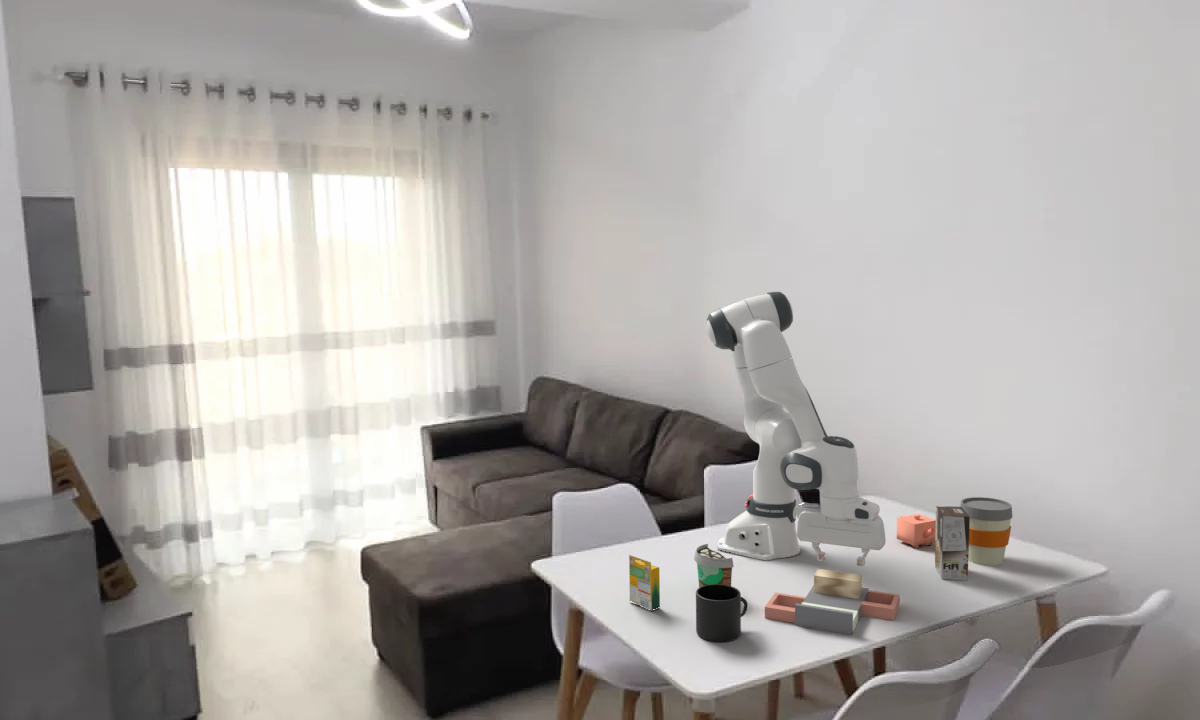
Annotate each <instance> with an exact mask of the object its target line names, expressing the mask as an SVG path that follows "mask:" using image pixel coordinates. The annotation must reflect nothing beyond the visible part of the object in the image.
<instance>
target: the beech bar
mask: <svg viewBox="0 0 1200 720" xmlns="http://www.w3.org/2000/svg"><path fill="white" fill-rule="evenodd" d="M813 585H814V592H817V593H823V594H830V595H836V596H843V597H849V598H856V599H859V597H860V595H861V593H862V587H863V574H857V573H851V572H850V573H849V572H841V571H835V570H830V569H829V570H828V569H820V568H818V569H817V570H816V572H815V573H814V575H813Z"/></svg>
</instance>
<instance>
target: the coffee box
mask: <svg viewBox="0 0 1200 720" xmlns="http://www.w3.org/2000/svg"><path fill="white" fill-rule="evenodd" d="M935 520H936V534H935V542H934V543H935V544H934V545H935V546H934V553H935V554H934V567H935V570H936V571H937V573H938V575H939V577H940V578H941V579H942V580H954V581H968V580H969V578H968V577H969V561H968V555H969V528H970V516H969V515H968V514H967V513H966V512H965V510H964V509H963V508H962V507H960V506H949V505H948V506H937V505H936V506H935Z"/></svg>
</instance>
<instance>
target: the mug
mask: <svg viewBox="0 0 1200 720" xmlns="http://www.w3.org/2000/svg"><path fill="white" fill-rule="evenodd" d="M741 603H743V608H741V607H742V606H741V605H742V604H741ZM748 606H749V605H748V601H747V600H746V599H745V598H744V597H743V596H741V591H740V590H739V589H738V588H736V586H735V587H734V586H732V585H731V586H728V585H722V584H710V585H705V586H702V587H700V588H699V587H698V588H697V589H696V590H695V631H696V634H697V636H698V637H700V639H701V638H702V639H703V640H705V641H709V642H715V643H726V642H732V641H734V640H736V639H738V638H739V637H740V636H741V632H742V627H741V626H742V622H741V621H742V620H741V619H742V617H744V616H745V615H746V613H747V612H748V608H749V607H748ZM741 610H742V611H741Z"/></svg>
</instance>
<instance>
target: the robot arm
mask: <svg viewBox="0 0 1200 720" xmlns="http://www.w3.org/2000/svg"><path fill="white" fill-rule="evenodd" d="M793 312H794V311H793V307H792V303H791V302H790V300H789V299H788V298H787V296H786V295H785V293H782V292H781V291H770V292H767V293H766V294H760V295H755V296H751V297H747V298H744V299H742V300H740V301H739V300H738V301H737V302H734V303H731V304H729V305H726V306H724V307H722V308H717V309H714V310H713V311H712V312H710V313H709V314H708V316H707V318H706V333H707V335H708V338H709V340H710V341H711V342H712V343H713V345H714V347H716V348H719V350H730V351H731V357H732V362H733V365H734V368H735V373H736V376H737V380H738V383H739V387H740V390H741V395H742V402H743V414H744V420H743V426H744V430H745V432H746V434H747V435H748V436H749V438H750V439H751V440H752V441H753V442H755V443H757V444H758V445H759V454H758V459H757V462H756V465H755V467H754V468H753V470H752V471H753V472H752V477H753V479H752V492H753V493H752V494H750V495H749V496H748V498H747V499H746V501H745V502H744V504H745V505H744V507H745V508H746V510H745V511H744V512H741V513H740V514H739V515H737V516H736V517H734V518H733V519H731V521H730V522H729V523H728V525H727V527H726V530H725V535H724V536H722V537H720V539H718V541H717V543H716V549H717V548H718V549H719V550H718V549H717V550H718V551H720V550H722V551H721V552H725V551H726V552H725V553H729V552H731V553H730V554H734V553H735V555H738V554H739V556H744V557H749V558H751V559H752V558H753V559H758V560H762V561H770V560H774V559H781V558H782V559H783V558H790V557H793V556H796V555H798V554H799V553H800V552H801V547H800V543H799V541H800V542H809V543H811V548H812V549H813V551H814V552H815V553H816V560H817V561H822V562H823V561H825V560H826V556H825V555H826V552H825V551H822V550H821V548H820V544H823V545H824V544H825V545H833V546H839V547H840V546H841V547H849V548H857V549H861V553H863V554H862V555H861V556H857V558H856V565H857V566H859V567H865V566H866V565H865V564H866V557H867V555H868V554H869V552H870V550H873V551H874V550H875V551H880V550H882V549H883V548H884V546H885V544H886V541H887V540H886V531H885V524H884V521H883V520H884V519H882V517H881V516H880V515H879V513H880V510H881V507H880V505H879V504H878V503H875V502H872V501H870V500H867V499H865V498H863V497H861V496H860V493H859V489H858V478H859V463H858V454H857V450H856V449H857V448H856V446H855V444H854V442H852V441H851V440H849V439H848V438H845V437H841V436H835V435H834V436H832V435H828V434H827V432H826V430H825V427H824V425H823V423H822V421H821V417H820V416H819V414H818V412H817V409H816V406H815V404H814V402H813V400H812V398H811V395H810V393H809V391H808V389H807V387H806V386H805V384H804V383H803V381H802V379H801V377H800V375H799V372H798V370H797V366H796V364H795V361H794V358H793V356H792V353H791V350H790V348H789V346H788V343H787V341H786V338H785V337H784V335H783V332H785V331H786V330H788V329H789V328H790V327H791V326H792V324H793V322H794V313H793ZM785 410H786V411H787V412H786V411H785ZM813 489H814V490H815V489H816V490H819V503H815V502H813V503H809V502H807V501H806V502H805V501H804V502H802V503H800V504H798V505H797V499H796V498H795V490H799V491H800V490H801V491H802V490H805V491H806V490H813ZM796 521H797V525H796Z"/></svg>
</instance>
